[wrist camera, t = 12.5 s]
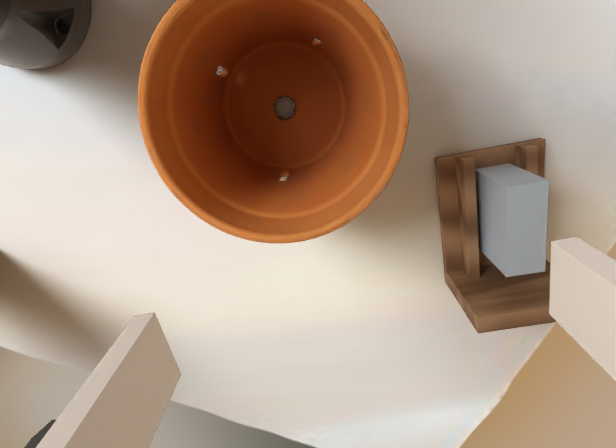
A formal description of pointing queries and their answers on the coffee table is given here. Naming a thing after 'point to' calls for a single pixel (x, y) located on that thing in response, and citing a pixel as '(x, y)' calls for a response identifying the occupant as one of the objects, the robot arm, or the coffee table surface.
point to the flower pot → (273, 113)
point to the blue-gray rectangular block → (512, 218)
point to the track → (465, 250)
